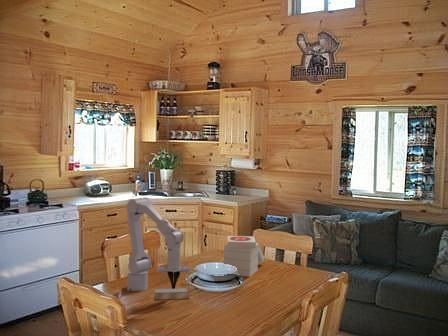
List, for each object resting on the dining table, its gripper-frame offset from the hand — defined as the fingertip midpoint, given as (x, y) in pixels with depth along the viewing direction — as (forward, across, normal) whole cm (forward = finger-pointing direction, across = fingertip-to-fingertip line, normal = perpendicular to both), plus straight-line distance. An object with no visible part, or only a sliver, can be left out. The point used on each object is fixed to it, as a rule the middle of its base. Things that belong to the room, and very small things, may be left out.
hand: (173, 288), depth 212 cm
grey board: (+6, 0, +10) cm, 12 cm away
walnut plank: (+6, 0, +2) cm, 6 cm away
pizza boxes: (+6, +42, +48) cm, 64 cm away
